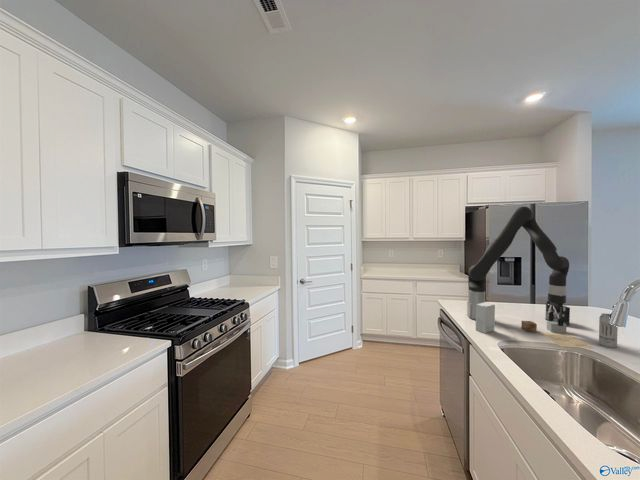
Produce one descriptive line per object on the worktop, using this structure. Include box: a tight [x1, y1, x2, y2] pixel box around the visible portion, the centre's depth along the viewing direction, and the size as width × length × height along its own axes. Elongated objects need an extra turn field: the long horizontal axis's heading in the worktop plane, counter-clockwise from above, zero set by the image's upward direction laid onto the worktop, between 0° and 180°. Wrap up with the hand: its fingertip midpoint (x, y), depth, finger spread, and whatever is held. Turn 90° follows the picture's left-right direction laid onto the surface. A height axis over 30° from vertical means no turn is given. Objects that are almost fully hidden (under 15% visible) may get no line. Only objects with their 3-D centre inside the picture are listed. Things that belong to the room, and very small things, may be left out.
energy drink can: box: [598, 312, 618, 349], centre depth 132 cm, size 6×6×15 cm
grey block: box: [546, 320, 567, 334], centre depth 151 cm, size 7×4×5 cm, turn 77°
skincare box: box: [475, 301, 496, 334], centre depth 153 cm, size 8×6×15 cm
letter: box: [539, 332, 596, 350], centre depth 139 cm, size 14×18×1 cm
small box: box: [545, 302, 571, 326], centre depth 166 cm, size 11×6×10 cm, turn 179°
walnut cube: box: [521, 320, 538, 334], centre depth 152 cm, size 5×5×5 cm
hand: (555, 323), depth 151 cm, fingers open, 8 cm apart
